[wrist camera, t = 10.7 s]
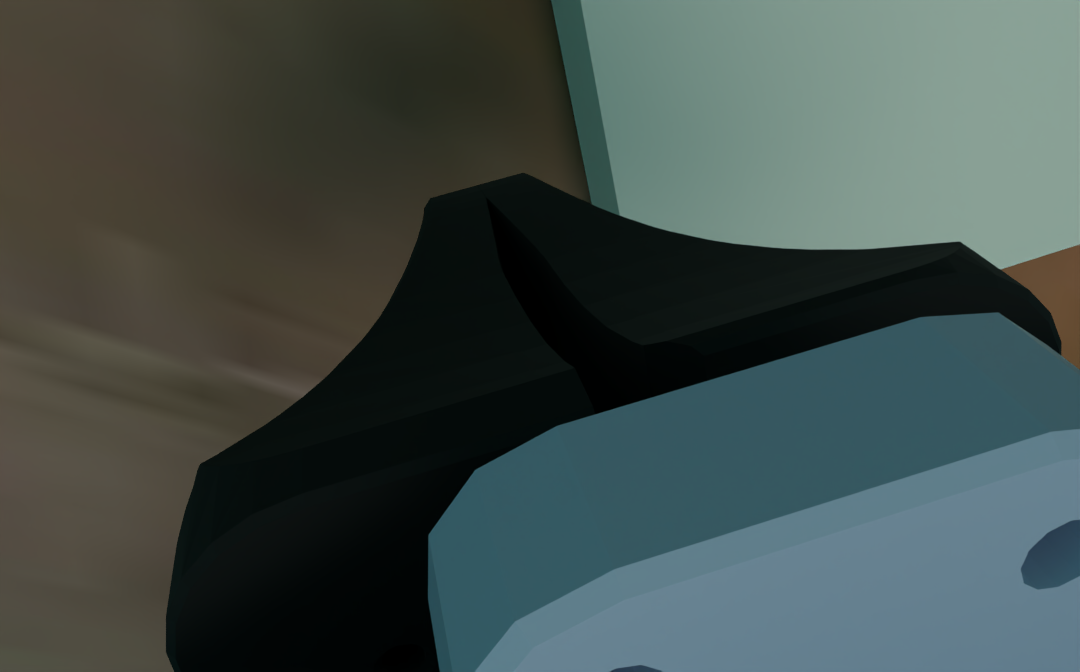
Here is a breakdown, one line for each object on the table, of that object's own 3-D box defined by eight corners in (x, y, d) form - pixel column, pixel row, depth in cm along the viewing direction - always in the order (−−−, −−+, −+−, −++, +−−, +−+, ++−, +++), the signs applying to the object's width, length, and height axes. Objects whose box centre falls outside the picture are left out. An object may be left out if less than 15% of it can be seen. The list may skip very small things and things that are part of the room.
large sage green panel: (1136, 158, 27) (1223, 198, 24) (615, 320, 26) (649, 380, 23) (1238, -461, 19) (1380, -496, 17) (497, -269, 18) (530, -275, 15)
